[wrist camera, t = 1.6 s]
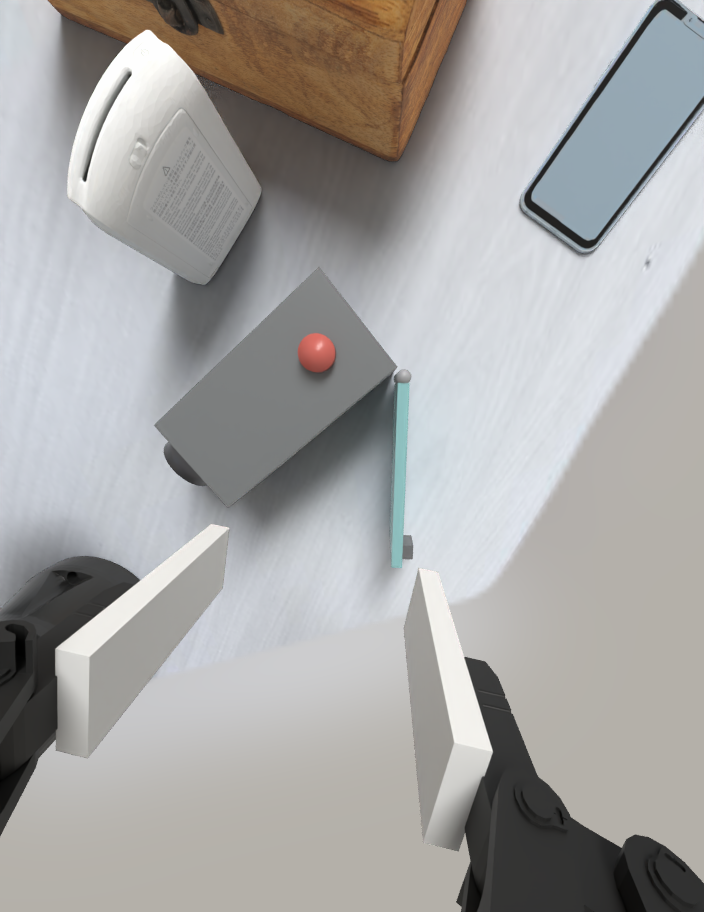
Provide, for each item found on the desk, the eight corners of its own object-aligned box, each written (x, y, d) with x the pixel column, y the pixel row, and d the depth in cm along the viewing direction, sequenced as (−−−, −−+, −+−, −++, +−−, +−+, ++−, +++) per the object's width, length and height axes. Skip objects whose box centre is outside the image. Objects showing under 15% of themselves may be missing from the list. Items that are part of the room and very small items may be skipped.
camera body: (245, 495, 34) (198, 532, 25) (190, 433, 33) (122, 449, 24) (393, 372, 30) (397, 366, 21) (335, 299, 29) (316, 262, 21)
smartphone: (514, 202, 26) (662, -14, 23) (510, 208, 27) (651, 2, 24) (590, 257, 27) (747, 52, 23) (583, 261, 28) (734, 65, 24)
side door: (408, 538, 32) (414, 572, 26) (388, 537, 32) (390, 570, 26) (416, 373, 29) (424, 369, 23) (393, 373, 29) (396, 369, 23)
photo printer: (229, 154, 28) (112, -27, 16) (271, 188, 28) (188, 36, 16) (168, 265, 30) (23, 182, 18) (207, 295, 30) (91, 234, 18)
